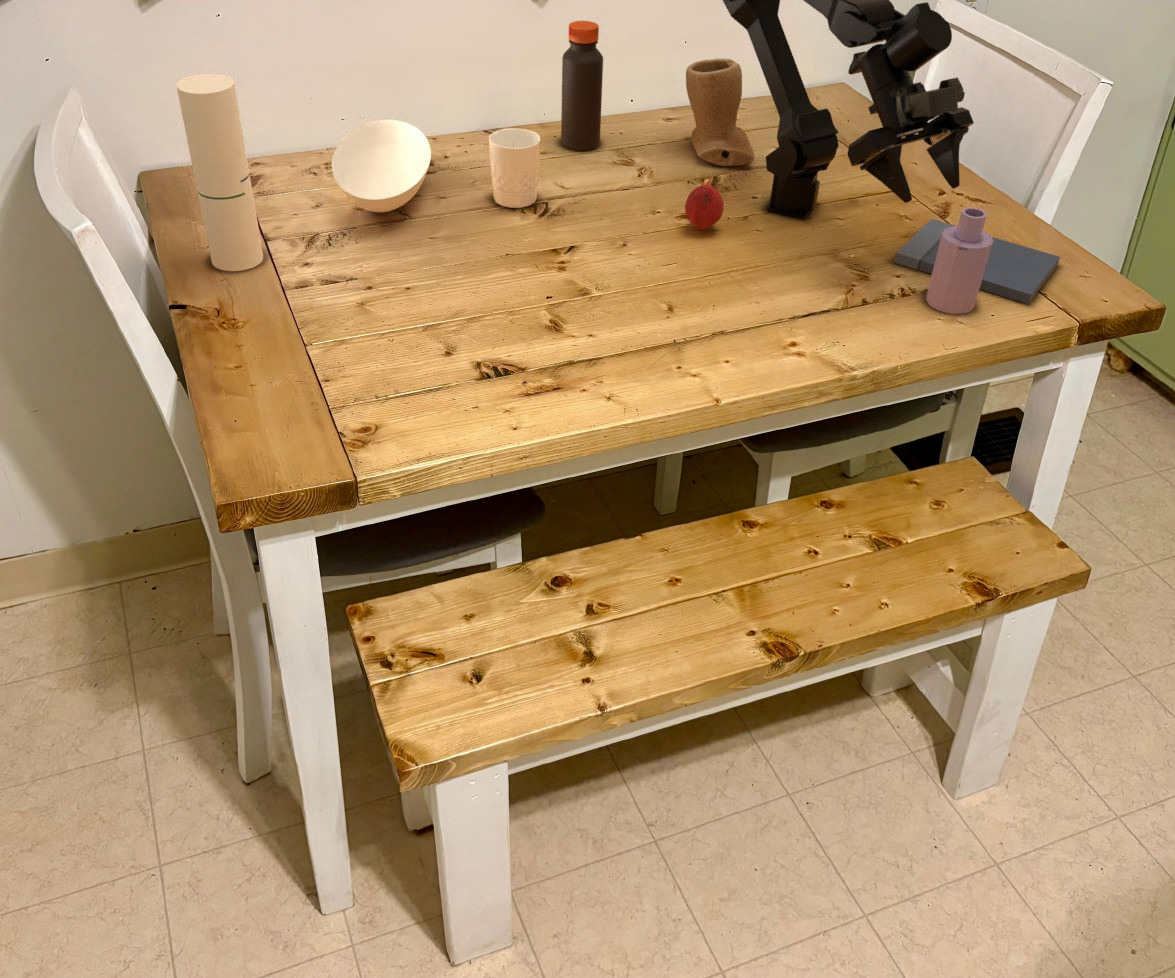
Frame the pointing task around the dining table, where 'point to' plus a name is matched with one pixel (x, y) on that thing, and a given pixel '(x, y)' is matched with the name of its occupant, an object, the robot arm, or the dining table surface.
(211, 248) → the cylindrical container
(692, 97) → the clay boot vessel
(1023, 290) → the grey stepped slab
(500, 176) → the white cup
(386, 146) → the bowl
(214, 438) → the dining table surface
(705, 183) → the onion
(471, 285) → the dining table surface
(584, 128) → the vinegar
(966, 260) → the vase
